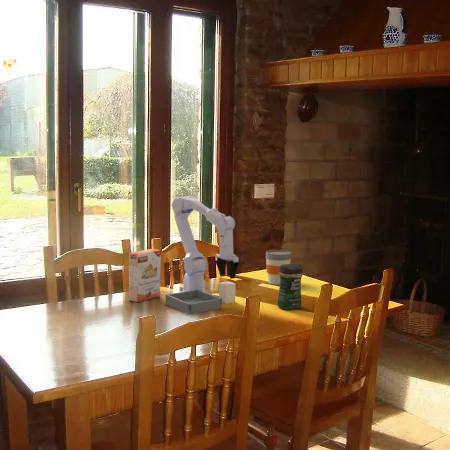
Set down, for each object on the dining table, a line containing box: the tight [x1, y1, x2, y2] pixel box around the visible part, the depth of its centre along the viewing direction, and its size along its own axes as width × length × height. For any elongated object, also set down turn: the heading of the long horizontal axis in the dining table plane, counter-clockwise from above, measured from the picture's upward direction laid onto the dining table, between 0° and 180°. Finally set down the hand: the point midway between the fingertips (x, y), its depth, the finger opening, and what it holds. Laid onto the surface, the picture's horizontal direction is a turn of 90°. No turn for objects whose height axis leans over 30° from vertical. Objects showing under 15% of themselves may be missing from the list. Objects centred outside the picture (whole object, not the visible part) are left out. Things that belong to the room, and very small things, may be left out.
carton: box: [218, 281, 236, 304], centre depth 257 cm, size 5×5×8 cm
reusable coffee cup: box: [265, 249, 293, 286], centre depth 291 cm, size 12×13×15 cm
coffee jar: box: [277, 263, 304, 311], centre depth 248 cm, size 10×8×19 cm
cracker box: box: [128, 248, 162, 304], centre depth 258 cm, size 14×6×21 cm, turn 143°
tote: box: [165, 289, 223, 315], centre depth 249 cm, size 18×16×4 cm
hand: (227, 277), depth 256 cm, fingers open, 7 cm apart
